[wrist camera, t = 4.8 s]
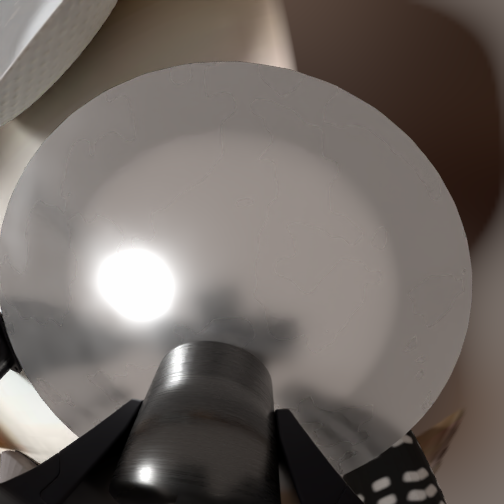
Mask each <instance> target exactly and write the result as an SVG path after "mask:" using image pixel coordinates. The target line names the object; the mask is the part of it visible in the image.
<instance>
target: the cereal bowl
mask: <svg viewBox="0 0 504 504" xmlns="http://www.w3.org/2000/svg"><path fill="white" fill-rule="evenodd" d="M116 3H117V0H0V126H3V125H5V124H6V123H7V122H9V121H11V120H13V119H14V118H15V117H16V116H18V115H19V114H21V113H22V112H23V111H24V110H26V109H27V108H29V107H30V106H31V105H32V104H33V103H34V102H35V101H37V100H38V99H39V98H40V97H41V96H42V95H43V94H44V93H45V92H46V91H47V90H48V89H49V88H50V87H51V86H52V85H53V84H54V83H55V82H56V81H57V80H59V78H60V77H61V76H62V75H63V74H64V72H65V71H66V70H67V69H68V68H69V67H70V66H71V64H72V63H73V62H74V61H75V60H76V59H77V57H79V56H80V54H81V53H82V51H83V50H84V49H85V48H86V46H87V45H88V44H89V43H90V42H91V40H92V38H93V37H94V36H95V35H96V33H97V32H98V31H99V30H100V28H101V26H102V25H103V23H104V22H105V21H106V19H107V17H108V16H109V15H110V13H111V11H112V9H113V8H114V7H115V5H116Z"/></svg>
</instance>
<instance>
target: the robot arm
mask: <svg viewBox="0 0 504 504" xmlns="http://www.w3.org/2000/svg"><path fill="white" fill-rule="evenodd" d="M10 369H11V370H13V371H15V372H18V373H20V372H21V370H22V368H21V366H20V364H19V362H18V359H17V357H16V355H15V352H14V350H13V348H12V345H11V343H10V340H9V337H8V335H7V332H6V329H5V327H4V324H3V321H2V318H1V316H0V379H1V378H2V377H3V376H4V375H5V374H6V373H7V372H8V371H9V370H10ZM143 401H144V400H140V399H131V400H130V401H128V402H127V403H126V404H124V405H123V406H122V407H120V408H119V409H118V410H116V411H115V412H114V413H112V414H111V415H110V416H108V417H107V418H106V419H104V420H103V421H102V422H100V423H99V424H98V425H96V426H95V427H93V428H92V429H91V430H89V431H88V432H87V433H85V434H84V435H82V436H81V437H80V438H78V439H77V440H75V441H74V442H73V443H71V444H70V445H68V446H67V447H66V448H64V449H63V450H61V451H60V452H59V453H57V454H55V455H54V456H52V457H51V458H49V459H48V460H46V461H45V462H43V463H41V464H40V465H38V466H36V467H34V468H32V469H31V470H29V471H27V472H25V473H22V474H20V475H18V476H16V477H14V478H12V479H9V480H7V481H5V482H2V483H0V504H119V503H118V502H117V501H115V500H114V499H113V497H112V496H111V495H110V493H109V490H108V488H109V485H110V482H111V479H112V477H113V474H114V472H115V469H116V467H117V464H118V461H119V459H120V456H121V454H122V451H123V449H124V446H125V444H126V441H127V439H128V437H129V434H130V432H131V429H132V427H133V424H134V422H135V420H136V417H137V415H138V413H139V410H140V408H141V406H142V403H143ZM275 425H276V438H277V451H278V465H279V479H280V493H281V504H365V503H364V502H363V501H362V500H361V499H360V498H359V497H358V496H357V495H356V494H355V493H354V491H353V490H352V489H351V488H350V487H349V485H347V483H346V482H345V481H344V480H343V478H342V477H341V476H340V475H339V473H338V472H337V471H336V470H335V469H334V467H333V466H332V465H331V464H330V462H329V461H328V460H327V459H326V457H325V456H324V455H323V453H322V452H321V451H320V450H319V448H318V447H317V446H316V444H315V443H314V442H313V440H312V439H311V438H310V437H309V435H308V434H307V433H306V431H305V430H304V429H303V427H302V426H301V425H300V423H299V422H298V420H297V419H296V418H295V416H294V415H293V414H292V412H291V411H290V410H289V409H276V410H275Z"/></svg>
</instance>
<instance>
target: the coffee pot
mask: <svg viewBox="0 0 504 504" xmlns="http://www.w3.org/2000/svg"><path fill="white" fill-rule="evenodd" d="M36 466H38V465H36V464H35V463H34V462H33V461H31V460H30V459H29V458H27V457H26V456H25V455H23V454H22V453H20V452H18V451H15V452H14V451H4V452H2V454H1V469H0V483H2V482H5V481H7V480H9V479H12V478H14V477H16V476H18V475H20V474H22V473H25V472H27V471H29V470H31V469H32V468H34V467H36Z"/></svg>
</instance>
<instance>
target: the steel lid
mask: <svg viewBox="0 0 504 504" xmlns="http://www.w3.org/2000/svg"><path fill="white" fill-rule="evenodd" d="M471 304H472V267H471V261H470V254H469V248H468V242H467V238H466V234H465V231H464V228H463V225H462V222H461V219H460V216H459V213H458V211H457V208H456V205H455V203H454V201H453V199H452V197H451V196H450V193H449V192H448V190H447V188H446V186H445V184H444V182H443V181H442V179H441V177H440V175H439V174H438V172H437V171H436V169H435V168H434V167H433V165H432V164H431V163H430V161H429V160H428V159H427V158H426V156H425V155H424V154H423V153H422V152H421V150H420V149H419V148H418V147H417V145H416V144H415V143H414V142H413V141H412V139H410V138H409V137H408V136H407V135H406V134H405V133H404V132H403V131H402V130H401V129H399V128H398V127H397V126H396V125H395V124H394V123H393V122H391V121H390V120H389V119H388V118H387V117H385V116H384V115H383V114H382V113H380V112H379V111H378V110H377V109H375V108H374V107H372V106H370V105H369V104H367V103H365V102H364V101H362V100H360V99H359V98H357V97H355V96H353V95H352V94H350V93H348V92H346V91H345V90H343V89H341V88H339V87H337V86H335V85H333V84H330V83H328V82H325V81H322V80H320V79H317V78H314V77H311V76H308V75H305V74H303V73H299V72H296V71H293V70H290V69H286V68H280V67H275V66H269V65H262V64H255V63H247V62H204V63H190V64H184V65H180V66H175V67H170V68H166V69H162V70H158V71H154V72H150V73H146V74H143V75H141V76H138V77H136V78H133V79H131V80H129V81H126V82H124V83H122V84H120V85H117V86H115V87H113V88H111V89H109V90H107V91H105V92H103V93H101V94H100V95H98V96H97V97H95V98H94V99H92V100H91V101H89V102H88V103H86V104H85V105H83V106H82V107H81V108H79V109H78V110H76V111H75V112H74V113H72V114H71V115H70V116H69V117H68V118H67V119H66V120H65V121H64V122H62V123H61V124H60V125H59V126H58V127H57V128H56V129H55V130H54V131H53V132H52V133H51V134H50V135H49V136H48V138H47V139H46V140H45V141H44V142H43V143H42V145H41V146H40V147H39V149H38V150H37V152H36V153H35V154H34V156H33V157H32V159H31V160H30V161H29V163H28V164H27V166H26V167H25V169H24V171H23V173H22V175H21V177H20V179H19V181H18V183H17V185H16V187H15V189H14V191H13V193H12V196H11V198H10V201H9V204H8V207H7V210H6V214H5V217H4V221H3V224H2V229H1V235H0V305H1V310H2V315H3V319H4V323H5V326H6V330H7V333H8V336H9V339H10V341H11V344H12V347H13V349H14V352H15V354H16V356H17V358H18V360H19V362H20V364H21V366H22V368H23V370H24V372H25V374H26V376H27V377H28V379H29V380H30V382H31V384H32V385H33V387H34V388H35V390H36V391H37V393H38V394H39V395H40V397H41V398H42V399H43V401H44V402H45V403H46V404H47V406H48V407H49V408H50V409H51V410H52V412H53V413H54V414H55V415H56V416H57V417H58V418H59V419H60V420H61V421H62V422H63V423H64V424H65V425H66V426H67V427H68V428H69V429H70V430H71V431H72V432H73V433H74V434H76V435H77V436H78V437H79V438H80V437H81V436H82V435H84V434H85V433H87V432H88V431H89V430H91V429H92V428H93V427H95V426H96V425H98V424H99V423H100V422H102V421H103V420H104V419H106V418H107V417H108V416H110V415H111V414H112V413H114V412H115V411H116V410H118V409H119V408H120V407H122V406H123V405H124V404H126V403H127V402H128V401H130V400H131V399H140V400H144V401H143V403H142V406H141V408H140V410H139V413H138V415H137V417H136V420H135V422H134V424H133V427H132V429H131V432H130V434H129V437H128V439H127V441H126V444H125V446H124V449H123V451H122V454H121V456H120V459H119V461H118V464H117V467H116V469H115V472H114V474H113V477H112V479H111V482H110V485H109V488H108V490H109V493H110V495H111V496H112V497H113V499H114V500H115V501H117V502H118V503H119V504H281V493H280V479H279V465H278V451H277V438H276V425H275V410H276V409H289V410H290V411H291V412H292V414H293V415H294V416H295V418H296V419H297V420H298V422H299V423H300V425H301V426H302V427H303V429H304V430H305V431H306V433H307V434H308V435H309V437H310V438H311V439H312V440H313V442H314V443H315V444H316V446H317V447H318V448H319V450H320V451H321V452H322V453H323V455H324V456H325V457H326V459H327V460H328V461H329V462H330V464H331V465H332V466H333V467H334V469H335V470H336V471H337V472H338V473H339V475H340V476H342V475H344V474H346V473H348V472H350V471H352V470H354V469H356V468H358V467H360V466H362V465H364V464H366V463H367V462H369V461H371V460H372V459H374V458H375V457H377V456H378V455H380V454H381V453H383V452H384V451H386V450H387V449H388V448H390V447H391V446H392V445H393V444H395V443H396V442H397V441H398V440H400V439H401V438H402V437H403V436H404V435H405V434H406V433H407V432H408V431H409V430H410V429H411V428H412V427H413V426H414V425H415V424H416V423H417V422H418V421H419V420H420V419H421V418H422V417H423V416H424V414H425V413H426V412H427V411H428V409H429V408H430V407H431V406H432V404H433V403H434V402H435V400H436V399H437V397H438V396H439V394H440V393H441V391H442V390H443V388H444V386H445V385H446V383H447V381H448V380H449V378H450V376H451V374H452V371H453V369H454V367H455V365H456V363H457V360H458V358H459V356H460V353H461V350H462V347H463V343H464V340H465V337H466V333H467V329H468V324H469V318H470V311H471Z"/></svg>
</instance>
